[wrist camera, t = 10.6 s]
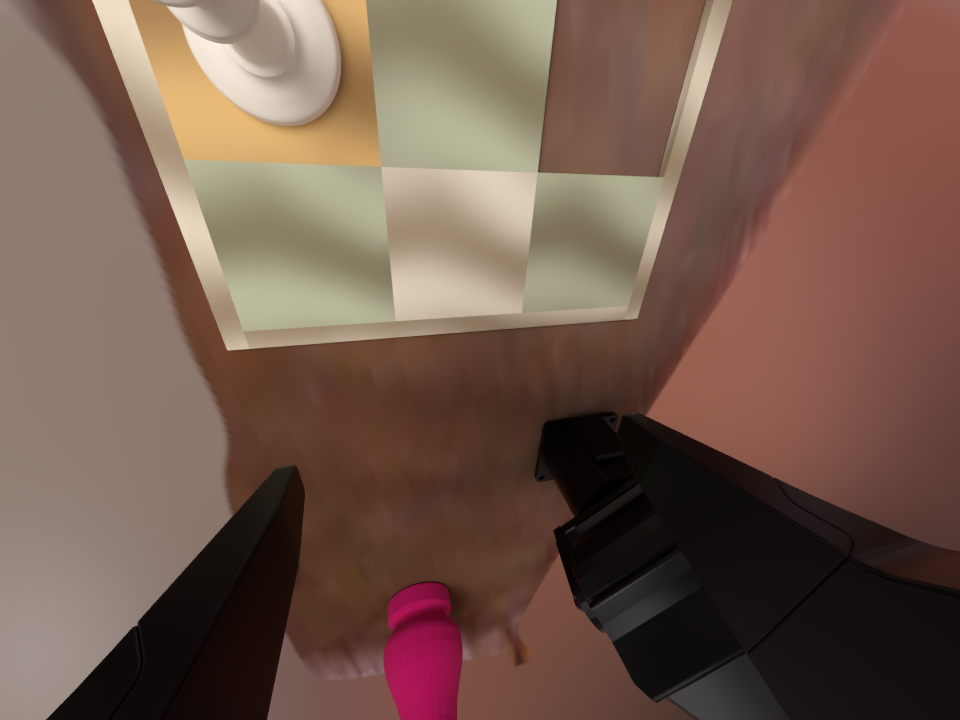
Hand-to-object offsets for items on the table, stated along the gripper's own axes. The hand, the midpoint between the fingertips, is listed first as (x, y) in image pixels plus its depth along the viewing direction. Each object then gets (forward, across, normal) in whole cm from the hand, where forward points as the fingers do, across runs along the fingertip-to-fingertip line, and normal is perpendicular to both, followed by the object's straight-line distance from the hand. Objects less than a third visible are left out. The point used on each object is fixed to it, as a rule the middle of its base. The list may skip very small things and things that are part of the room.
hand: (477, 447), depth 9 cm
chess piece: (+12, +5, -10) cm, 16 cm away
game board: (+12, -2, -6) cm, 14 cm away
